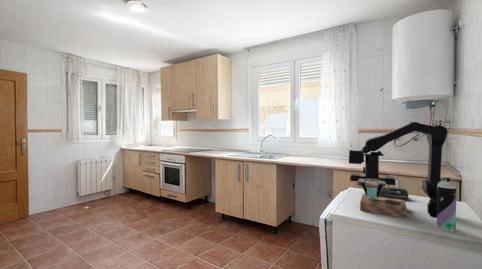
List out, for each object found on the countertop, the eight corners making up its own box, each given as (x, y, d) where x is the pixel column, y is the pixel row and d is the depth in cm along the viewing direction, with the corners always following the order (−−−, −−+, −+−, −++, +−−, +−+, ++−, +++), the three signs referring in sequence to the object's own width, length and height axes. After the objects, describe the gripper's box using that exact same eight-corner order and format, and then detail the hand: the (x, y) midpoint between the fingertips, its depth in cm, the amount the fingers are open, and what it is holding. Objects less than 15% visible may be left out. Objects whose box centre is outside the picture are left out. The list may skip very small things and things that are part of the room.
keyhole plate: (404, 208, 111) (404, 200, 111) (406, 217, 100) (406, 208, 100) (362, 202, 120) (362, 194, 120) (360, 210, 109) (360, 202, 109)
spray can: (437, 229, 89) (438, 178, 88) (435, 224, 93) (436, 175, 92) (457, 233, 86) (458, 179, 85) (453, 227, 90) (454, 176, 89)
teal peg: (376, 206, 113) (376, 188, 113) (376, 209, 110) (376, 190, 109) (367, 205, 115) (367, 187, 115) (366, 207, 112) (367, 189, 112)
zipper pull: (357, 180, 140) (407, 185, 127) (357, 191, 141) (407, 197, 127) (355, 183, 133) (409, 189, 120) (355, 195, 133) (409, 202, 120)
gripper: (394, 163, 113) (394, 194, 114) (352, 161, 123) (352, 189, 124) (395, 167, 104) (395, 201, 105) (350, 164, 114) (350, 195, 115)
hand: (371, 196), depth 112 cm, fingers closed on teal peg, 4 cm apart
